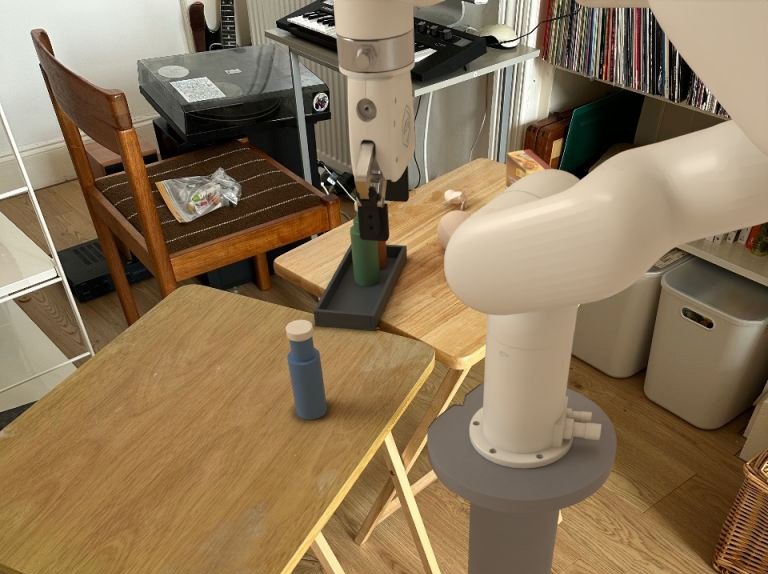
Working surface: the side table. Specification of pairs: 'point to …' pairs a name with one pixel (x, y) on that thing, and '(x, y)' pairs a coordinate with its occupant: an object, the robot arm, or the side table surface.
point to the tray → (359, 294)
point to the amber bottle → (382, 252)
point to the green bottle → (364, 256)
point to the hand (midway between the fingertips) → (385, 219)
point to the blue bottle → (305, 371)
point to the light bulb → (450, 225)
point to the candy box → (522, 165)
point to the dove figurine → (456, 197)
